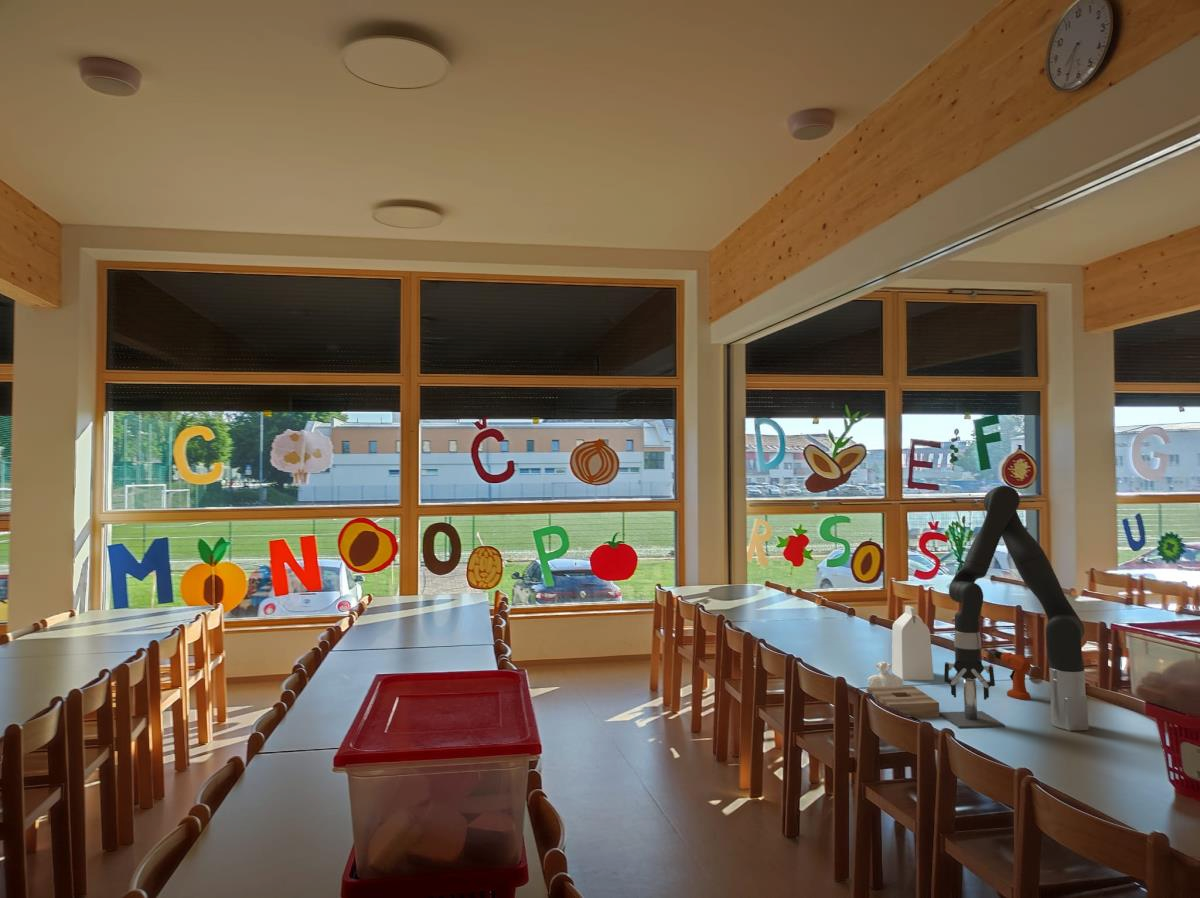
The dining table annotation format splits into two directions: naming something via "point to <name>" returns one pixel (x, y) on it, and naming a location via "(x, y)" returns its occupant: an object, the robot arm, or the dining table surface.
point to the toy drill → (1015, 673)
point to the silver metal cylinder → (970, 699)
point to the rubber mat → (981, 721)
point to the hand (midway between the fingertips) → (969, 697)
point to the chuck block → (906, 700)
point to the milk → (911, 647)
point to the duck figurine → (884, 677)
